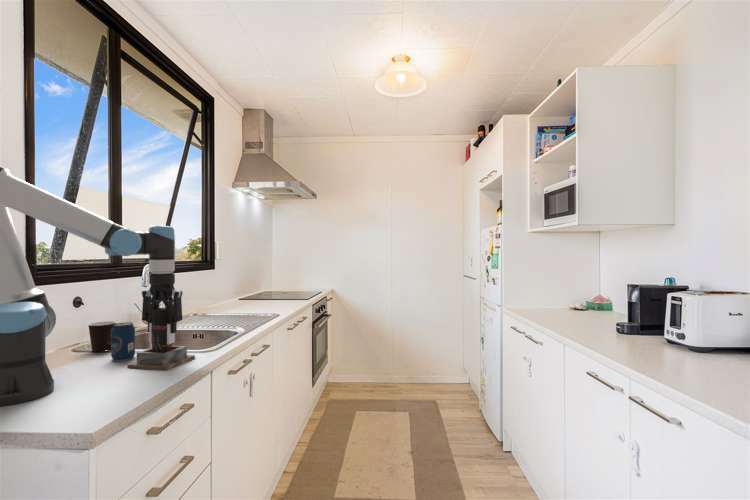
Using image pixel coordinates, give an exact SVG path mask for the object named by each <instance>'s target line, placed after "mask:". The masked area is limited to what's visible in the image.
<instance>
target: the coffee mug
mask: <svg viewBox="0 0 750 500" xmlns="http://www.w3.org/2000/svg"><path fill="white" fill-rule="evenodd" d="M114 324H117V321H115V320H114V321H113V320H112V321H111V320H110V321H108V320H107V321H106V320H105V321H96V322H92V323H89V324H87V325H88V332H89V339H90V345H91V351H94V352H93V353H103V352H102V351H105V350H110V351H111V330H112V328H113V325H114Z"/></svg>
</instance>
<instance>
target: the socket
mask: <svg viewBox="0 0 750 500" xmlns="http://www.w3.org/2000/svg"><path fill="white" fill-rule="evenodd" d="M187 347H188V346H187V345H172V351H169V352H166V353H155V352H152V347H150V348H147V349H143V350H140V351H138V352H136V361H135V362H132V363H128V364H127V368H128V369H135V370H136V369H139V370H150V371H151V370H152V371H153V370H154V371H168V370H171V369H173V368H175V367H177V366H180V365H182V364H185V363H187V362H190V361H191V360H194V359H196V355H194V354H193V355H191V354H188V348H187Z"/></svg>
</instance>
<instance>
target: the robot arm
mask: <svg viewBox="0 0 750 500" xmlns="http://www.w3.org/2000/svg"><path fill="white" fill-rule="evenodd" d="M9 208H10V209H12V210H14V211H17V212H19V213H22V214H23V215H27V216H29V217H31V218H34V219H36V220H38V221H40V222H43V223H45V224H47V225H50V226H53V227H54V228H56V229H57V228H58V229H59V230H62V231H64V232H67V233H69V234H72V235H74V236H76V237H78V238H80V239H83V240H86V241H88V242H90V243H92V244H95V245H97V246H100V247H102V248H103V249H104V252H105V254H106V255H109V256H121V257H130V256H138V255H139V256H142V255H143V256H146V255H148V259H149V260H148V272H150V273H149V274H148V284H149V285H150V287H149V288H148V290H142V291H141V295H142V308H141V309H142V311H141V312H142V313H141V321H145V322H147V332H148V333H149V335H148V336H149V343H150V344H152V309H156V308H160V304H161V302H162V303H163V305H164V308H166V310H167V315H168V319H169V323H168V324H167V344H171V343H172V344H173V343H176V333H177V331H178V330H177V327H178V325H177V323H178V322H181V321H183V307H182V296H183V291H182V290H176V289H175V283H176V274H175V273H174V272H175V271H176V269H175V268H176V267H175V263H176V262H175V257H176V255H175V253H176V250H175V249H176V237H175V235H176V234H175V229H174V227H173V226H171V225H170V226H169V225H150V226H149V227H148V231H135V230H132V229H131V228H127V227H124V226H122V225H120V224H118V223H115V222H113V221H112V220H110V219H108V218H105V217H103V216H101V215H98V214H96V213H94V212H92V211H90V210H88V209H85V208H83V207H81V206H79V205H77V204H75V203H72V202H70V201H68V200H66V199H64V198H61V197H59V196H57V195H55V194H52V193H50V192H48V191H47V190H44V189H42V188H39V187H38V186H36V185H34V184H30V183H29V182H26V181H25V180H22V179H20V178H18V177H15V176H14V175H12V174H11V172H10V169H8V168H6V167H3V166H1V165H0V407H1V406H3V407H4V406H10V405H14V404H15V405H16V404H21V403H26V402H28V401H32V400H36V399H39V398H42V397H44V396H47V395H48V394H49V395H50V393H52V392H53V391H54V389H55V380H54V378H53V376H52V373H51V371H50V369H49V368H50V367H49V366H48V364H47V361H46V360H47V359H46V338H47V337H48V336H49V335H50V334H51V333H52V331H53V330H54V328H55V325H56V323H57V314H56V313H55V310H54V308H53V307H52V306H51V305H50V304H49V301H48V299H47V296H46V293H45V291H44V290H40V289H38V288H37V287H36V284H35V282H34V279H33V278H34V277H33V276H32V273H31V270H30V267H29V264H28V261H27V258H26V256H25V252H24V250H23V247H22V244H21V242H20V238H19V235H18V233H17V230H16V227H15V224H14V221H13V218H12V215H11V213H10V210H9Z"/></svg>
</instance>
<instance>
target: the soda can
mask: <svg viewBox="0 0 750 500" xmlns="http://www.w3.org/2000/svg"><path fill="white" fill-rule="evenodd" d="M110 354H111V359H112V360H113V361H116V362H121V361H123V362H124V361H128V360H132V359H133V358H134V356H135V355H136V328H135V325H134V323H133V322H116V324H114V325H113V328H112V330H111V350H110Z"/></svg>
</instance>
